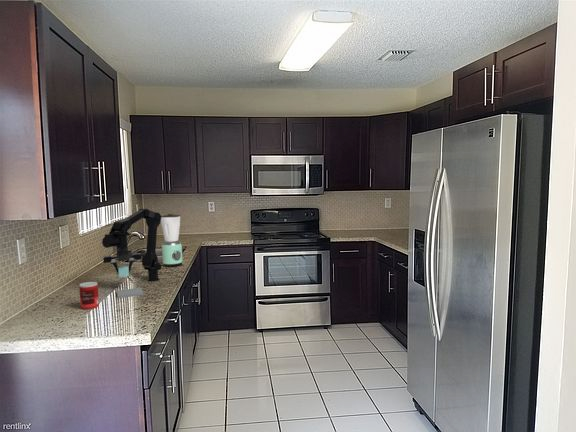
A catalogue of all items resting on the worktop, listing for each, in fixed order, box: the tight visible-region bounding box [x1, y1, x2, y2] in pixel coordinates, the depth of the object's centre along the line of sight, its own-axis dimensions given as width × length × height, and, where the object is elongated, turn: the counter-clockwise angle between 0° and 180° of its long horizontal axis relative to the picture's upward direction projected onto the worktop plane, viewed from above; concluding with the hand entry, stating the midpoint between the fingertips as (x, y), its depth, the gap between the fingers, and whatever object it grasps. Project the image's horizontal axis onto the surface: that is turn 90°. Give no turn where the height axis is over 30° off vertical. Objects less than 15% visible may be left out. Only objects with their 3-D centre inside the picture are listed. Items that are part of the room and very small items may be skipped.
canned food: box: [78, 281, 100, 310], centre depth 188 cm, size 8×8×11 cm
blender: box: [160, 213, 184, 268], centre depth 277 cm, size 19×13×35 cm
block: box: [117, 264, 130, 278], centre depth 217 cm, size 5×5×5 cm
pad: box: [116, 287, 144, 299], centre depth 210 cm, size 12×12×1 cm
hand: (123, 273), depth 217 cm, fingers closed on block, 5 cm apart
